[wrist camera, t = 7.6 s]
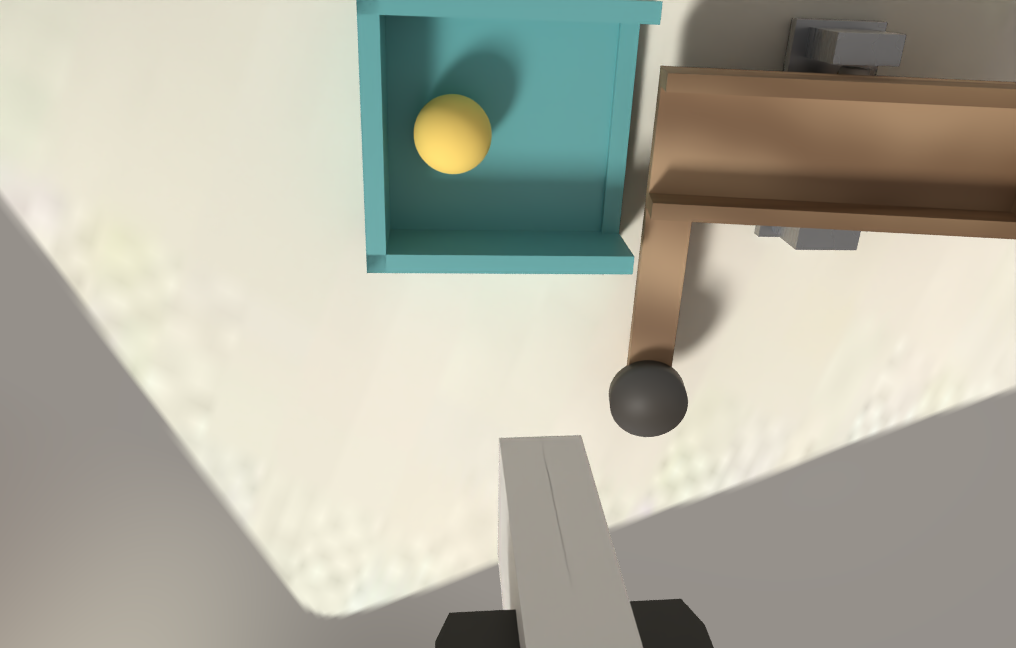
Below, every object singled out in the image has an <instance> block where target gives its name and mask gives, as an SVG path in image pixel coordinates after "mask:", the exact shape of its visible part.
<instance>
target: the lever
mask: <svg viewBox="0 0 1016 648" xmlns="http://www.w3.org/2000/svg"><path fill="white" fill-rule="evenodd" d="M870 71H871V69H869V68H863V67H853V66H841V67H840V68H839V73H838V74H827V73H806V72H784V71H762V70H741V69H719V68H698V67H676V66H661V68H660V76H659V85H658V94H657V103H656V112H655V121H654V130H653V138H652V147H651V156H650V165H649V174H648V183H647V191H646V200H645V209H644V218H643V227H642V236H641V245H640V253H639V262H638V271H637V280H636V289H635V298H634V306H633V315H632V324H631V333H630V342H629V351H628V360H627V366H626V367H624V368H623V369H621V370H620V371H619V372H618V373H617V374H616V375H615V377H614V378H613V380H612V382H611V385H610V388H609V401H610V410H611V414H612V416H613V418H614V420H615V422H616V423H617V424H618V425H619V426H620V427H621V428H622V429H623V430H625V431H626V432H628V433H630V434H633V435H636V436H641V437H654V436H659V435H662V434H665V433H667V432H669V431H671V430H672V429H674V428H675V427H676V426H677V425H678V424H679V423H680V422H681V421H682V419H683V418H684V416H685V414H686V411H687V407H688V398H687V393H686V390H685V387H684V383H683V381H682V378H681V377H680V375H679V374H678V373H677V371H675V370H674V369H673V368H672V360H673V353H674V346H675V339H676V332H677V324H678V317H679V310H680V303H681V296H682V289H683V281H684V274H685V267H686V260H687V253H688V246H689V238H690V231H691V224H692V222H703V223H722V224H741V225H759V226H778V227H796V228H815V229H834V230H852V231H871V232H890V233H908V234H927V235H946V236H964V237H983V238H1001V239H1016V82H1001V81H979V80H957V79H936V78H914V77H892V76H871V75H870Z"/></svg>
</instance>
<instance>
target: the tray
mask: <svg viewBox="0 0 1016 648" xmlns="http://www.w3.org/2000/svg"><path fill="white" fill-rule="evenodd" d="M356 1H357V27H358V53H359V78H360V104H361V130H362V156H363V181H364V207H365V233H366V259H367V273H488V274H633V265H634V255H633V254H632V252H631V251H630V249H629V248H628V246H627V245H626V243H625V242H624V240H623V239H622V237H621V236H620V234H619V229H620V219H621V209H622V199H623V189H624V179H625V169H626V159H627V149H628V139H629V129H630V119H631V109H632V99H633V90H634V80H635V70H636V60H637V50H638V40H639V30H640V24H655V25H660V20H661V11H662V1H656V0H356ZM446 94H459V95H463V96H466V97H468V98H470V99H472V100H474V101H475V102H476V103H477V104H479V105H480V106H481V108H482V109H483V110H484V111H485V113H486V115H487V117H488V119H489V121H490V125H491V130H492V139H491V145H490V148H489V151H488V153H487V155H486V156H485V158H484V159H483V160H482V161H481V163H480V164H478V165H477V166H476V167H475V168H473V169H471V170H469V171H467V172H464V173H460V174H447V173H442V172H439V171H437V170H435V169H433V168H432V167H430V166H429V165H428V164H427V163H426V162H425V161H424V160H423V159H422V158H421V156H420V155H419V153H418V151H417V149H416V146H415V142H414V125H415V121H416V118H417V116H418V114H419V112H420V111H421V109H422V108H423V107H424V106H425V105H426V104H427V103H428V102H429V101H431V100H432V99H434V98H436V97H438V96H441V95H446Z"/></svg>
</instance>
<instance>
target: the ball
mask: <svg viewBox="0 0 1016 648" xmlns="http://www.w3.org/2000/svg"><path fill="white" fill-rule="evenodd" d="M491 139H492V130H491V125H490V121H489V119H488V117H487V115H486V113H485V111H484V110H483V109H482V108H481V106H480V105H479V104H477V103H476V102H475V101H474V100H472V99H470V98H468V97H466V96H463V95H459V94H446V95H441V96H438V97H436V98H434V99H432V100H431V101H429V102H428V103H427V104H426V105H425V106H424V107H423V108H422V109H421V111H420V112H419V114H418V116H417V118H416V121H415V125H414V142H415V146H416V149H417V151H418V153H419V155H420V156H421V158H422V159H423V160H424V161H425V162H426V163H427V164H428V165H429V166H430V167H432V168H433V169H435V170H437V171H439V172H442V173H447V174H460V173H464V172H467V171H469V170H471V169H473V168H475V167H476V166H477V165H478V164H480V163H481V161H482V160H483V159H484V158H485V156H486V155H487V153H488V151H489V148H490V145H491Z"/></svg>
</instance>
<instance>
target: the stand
mask: <svg viewBox="0 0 1016 648" xmlns="http://www.w3.org/2000/svg"><path fill="white" fill-rule="evenodd" d="M886 27H887V22H882V21H855V20H828V19H800V18H792V23H791V28H790V34H789V40H788V45H787V51H786V57H785V63H784V68H783V71H784V72H806V73H827V74H838V73H839V68H840V67H841V66H853V67H863V68H869V69H871V71H870V75H871V76H876V72H877V67H878V66H899V65H900V61H901V56H902V52H903V48H904V43H905V39H906V35H905V34H899V33H893V32H886ZM860 232H861V231H852V230H834V229H815V228H796V227H778V226H759V225H756V228H755V234H756V235H757V236H758V237H781V238H782V239H783V240H784V241H785V242H787V243H788V244H789V245H790V246H792V247H793V248H794V249H795V250H856V249H857V245H858V241H859V237H860Z"/></svg>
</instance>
